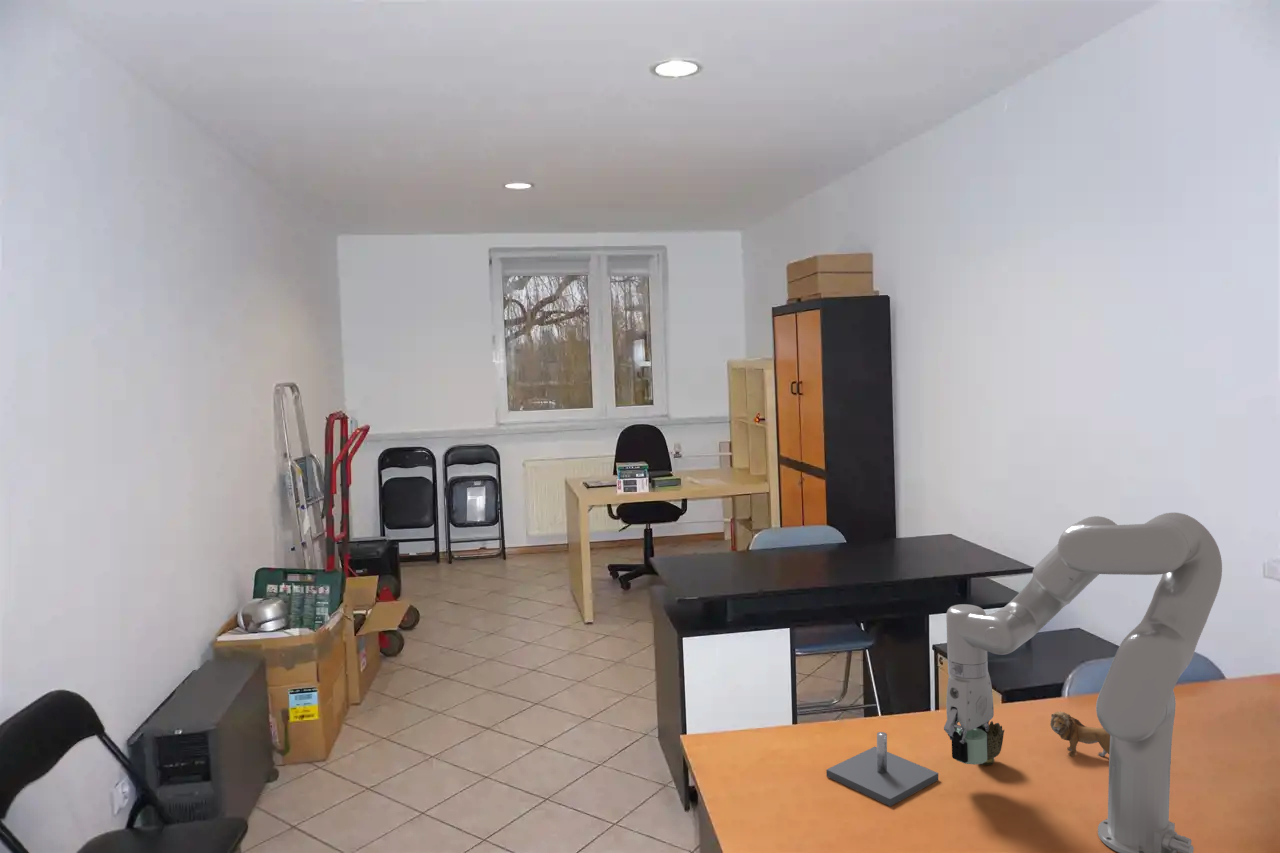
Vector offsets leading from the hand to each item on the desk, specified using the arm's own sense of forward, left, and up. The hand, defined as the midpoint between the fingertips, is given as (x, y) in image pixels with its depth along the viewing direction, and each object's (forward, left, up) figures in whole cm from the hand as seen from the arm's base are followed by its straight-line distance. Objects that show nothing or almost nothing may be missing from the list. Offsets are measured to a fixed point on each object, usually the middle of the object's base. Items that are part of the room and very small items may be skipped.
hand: (970, 753), depth 181 cm
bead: (0, 0, -1) cm, 1 cm away
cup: (+4, -12, -7) cm, 14 cm away
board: (+14, +10, -7) cm, 19 cm away
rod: (+14, +10, -6) cm, 18 cm away
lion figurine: (-8, -30, -7) cm, 32 cm away
